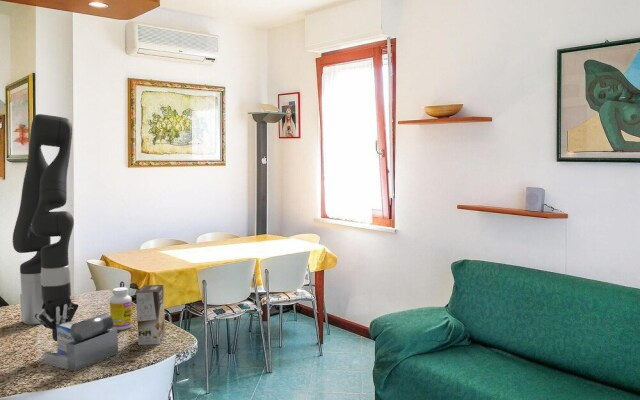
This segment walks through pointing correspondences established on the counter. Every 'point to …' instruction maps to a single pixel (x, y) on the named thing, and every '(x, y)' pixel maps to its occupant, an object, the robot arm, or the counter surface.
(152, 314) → the coffee box
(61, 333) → the medicine box
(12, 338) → the counter surface
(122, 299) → the supplement bottle
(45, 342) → the counter surface
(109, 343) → the motor dock
